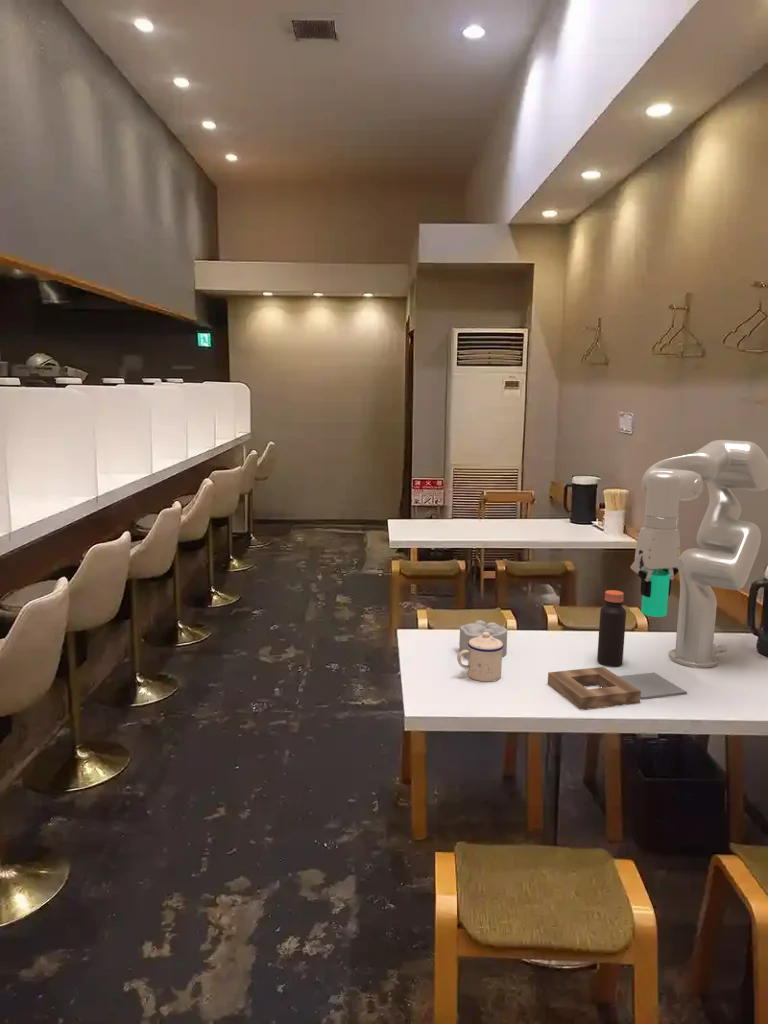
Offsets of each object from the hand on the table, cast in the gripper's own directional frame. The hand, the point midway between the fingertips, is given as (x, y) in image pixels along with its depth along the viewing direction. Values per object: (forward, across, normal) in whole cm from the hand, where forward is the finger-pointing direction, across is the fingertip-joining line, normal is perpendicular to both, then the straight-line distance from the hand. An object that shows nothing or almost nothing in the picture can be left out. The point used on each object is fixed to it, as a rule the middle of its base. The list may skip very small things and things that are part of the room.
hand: (655, 594), depth 181 cm
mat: (+24, 0, 0) cm, 24 cm away
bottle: (+24, 0, -17) cm, 30 cm away
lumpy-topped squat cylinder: (+24, +31, -32) cm, 51 cm away
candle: (+5, 0, 0) cm, 5 cm away
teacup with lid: (+24, +39, -17) cm, 49 cm away
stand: (+24, +16, 0) cm, 29 cm away
